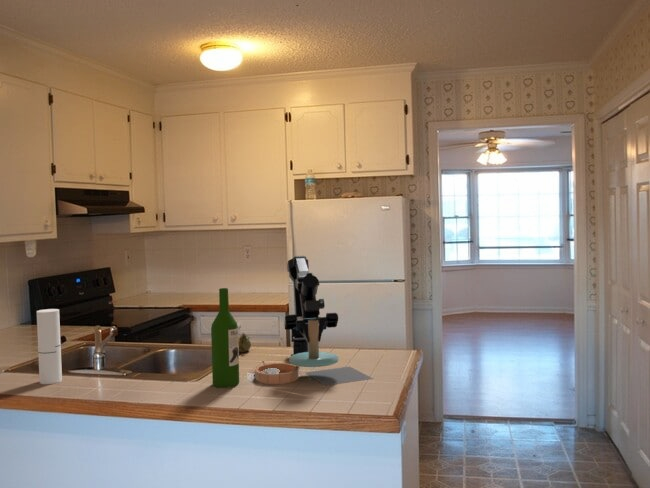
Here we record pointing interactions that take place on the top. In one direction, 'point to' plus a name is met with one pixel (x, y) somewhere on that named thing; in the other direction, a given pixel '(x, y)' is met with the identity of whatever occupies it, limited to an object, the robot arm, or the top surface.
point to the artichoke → (244, 343)
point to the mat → (338, 376)
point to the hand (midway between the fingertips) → (313, 341)
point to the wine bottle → (225, 345)
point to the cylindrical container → (49, 346)
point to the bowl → (285, 375)
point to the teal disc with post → (313, 351)
